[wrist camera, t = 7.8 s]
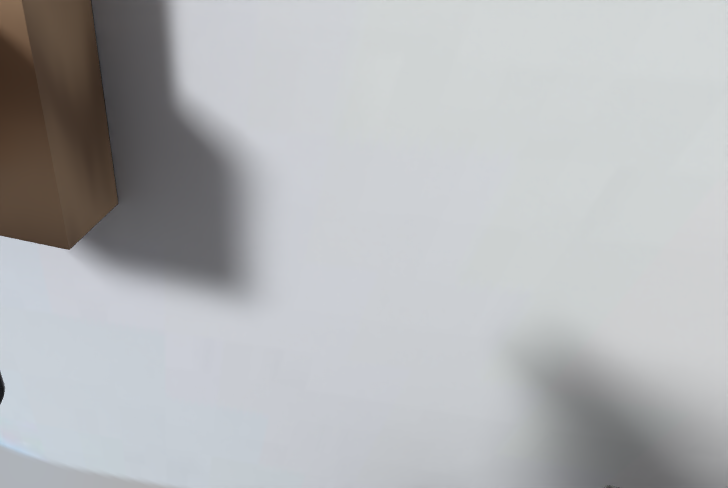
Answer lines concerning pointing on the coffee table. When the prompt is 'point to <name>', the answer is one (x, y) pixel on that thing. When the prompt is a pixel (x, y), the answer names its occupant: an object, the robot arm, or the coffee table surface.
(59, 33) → the base slab
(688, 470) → the coffee table surface
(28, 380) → the coffee table surface
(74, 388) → the coffee table surface
